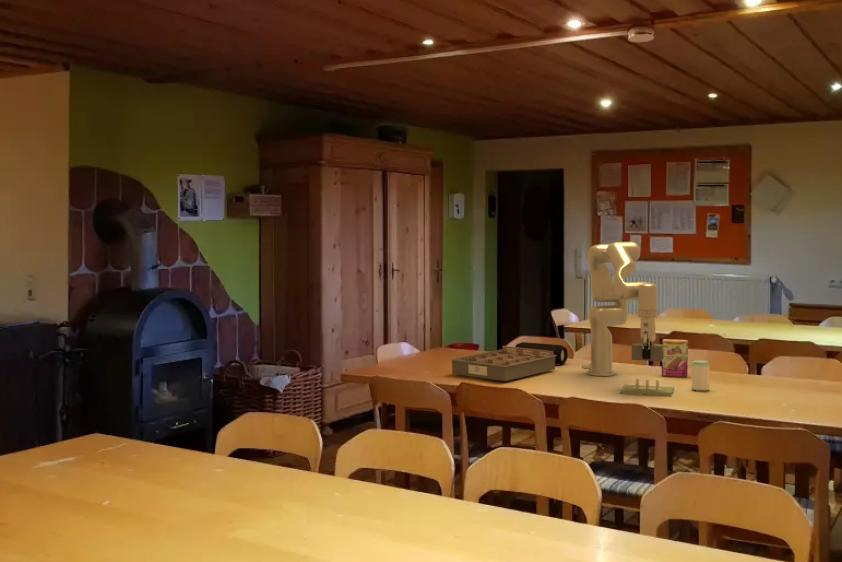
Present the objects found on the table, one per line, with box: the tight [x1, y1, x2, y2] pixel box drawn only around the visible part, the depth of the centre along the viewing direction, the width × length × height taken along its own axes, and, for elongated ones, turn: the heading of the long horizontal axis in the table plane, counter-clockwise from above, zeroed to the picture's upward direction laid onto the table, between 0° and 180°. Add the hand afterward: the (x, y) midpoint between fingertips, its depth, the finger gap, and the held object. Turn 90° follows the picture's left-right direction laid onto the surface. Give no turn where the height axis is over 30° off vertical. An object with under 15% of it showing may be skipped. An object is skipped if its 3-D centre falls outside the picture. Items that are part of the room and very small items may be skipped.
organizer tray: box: [449, 345, 557, 382], centre depth 398 cm, size 32×40×10 cm
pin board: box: [619, 378, 675, 397], centre depth 350 cm, size 20×12×5 cm, turn 68°
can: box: [691, 359, 711, 392], centre depth 353 cm, size 7×7×12 cm
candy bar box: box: [661, 338, 689, 378], centre depth 384 cm, size 11×5×16 cm, turn 71°
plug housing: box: [631, 342, 664, 362], centre depth 349 cm, size 12×6×6 cm, turn 68°
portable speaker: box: [514, 341, 569, 365], centre depth 426 cm, size 26×10×10 cm, turn 56°
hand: (647, 357), depth 349 cm, fingers closed on plug housing, 6 cm apart
